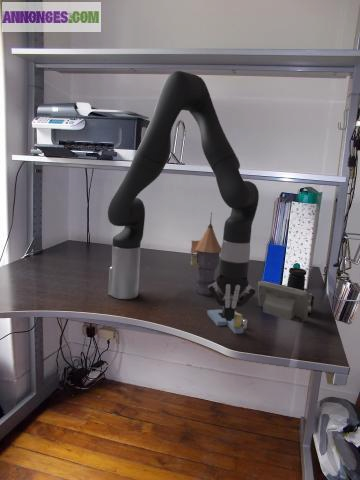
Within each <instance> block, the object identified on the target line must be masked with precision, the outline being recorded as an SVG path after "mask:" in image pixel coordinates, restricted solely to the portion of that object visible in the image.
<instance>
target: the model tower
mask: <svg viewBox="0 0 360 480" xmlns="http://www.w3.org/2000/svg"><path fill="white" fill-rule="evenodd" d="M212 214H213V212H211V213H210V220H209V221H210V223H209V225H207V228H206V230H205V232H204V233H203V236H202V237H201V239H200V240H191V248H190V254H191V258H190V259H191V261H190V265H191V267H193V268H198V269H197V270H198V271H197V278H196V279H195V282H196V283H197V286H196V289H197V290H196V292H197V295H200V296H204V297H211V296H213V295H212V293H211V292H210V291H209V288H208V285H209V284H213V283H214V282H216V279H215V273H216V269H217V268H218V266H220V252H221V247H222V246H221V245H220V243H219V241H218V239H217V237H216V233H215V232H214V231H215V230H214V227H213V224H212V216H213V215H212ZM194 254H196V255H194Z"/></svg>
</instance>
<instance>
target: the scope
mask: <svg viewBox="0 0 360 480" xmlns="http://www.w3.org/2000/svg"><path fill="white" fill-rule="evenodd" d="M288 273H289V274H288V279H287V284H286V286H287V287H291V288H295V289H299V290H303V291H305V286H306V285H305V284H306V275H307V270H305V269H304V268H300V267H289V269H288ZM314 299H315V296H314V295H313V293H309V292H308V318H309V317H311V316H312V312H313V306H314V304H315V301H314Z"/></svg>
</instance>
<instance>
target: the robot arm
mask: <svg viewBox="0 0 360 480" xmlns="http://www.w3.org/2000/svg"><path fill="white" fill-rule="evenodd" d="M213 103H214V102H213V100H212V97H211V94H210V92H209V88H208V87H207V84H206V82H205V81H204V79H203V78H202V77H201V76H198V75H197V74H193V73H190V72H185V71H181V70H175V71H173V72H171V73H170V74H169V75H168V76H167V78H166V79H165V81H164V83H163V85H162V88H161V90H160V93H159V96H158V99H157V102H156V105H155V107H154V111H153V114H152V116H151V119H150V121H149V123H148V126H147V128H146V130H145V133H144V136H143V138H142V140H141V142H140V144H139V146H138V148H137V150H136V152H135V154H134V157H133V159H132V161H131V163H130V166H129V168H128V170H127V172H126V174H125V176H124V178H123V180H122V182H121V184H120V185H119V187H118V188H117V190H116V192H115V194H114V195H113V197H112V198H111V200H110V202H109V204H108V207H107V208H108V209H107V219H108V221H109V223H110V224H112V225H113V226H116V227H124V228H123V229H122V231H120V232H119V233H117V234H116V235H115V236H113V238H112V248H111V249H112V250H111V266H110V267H109V268H108V290H107V291H108V293H107V294H108V295H109V296H111V297H113V298H115V299H118V300H119V299H120V300H132V299H135V298H137V297H138V295H139V286H140V284H139V283H140V261H141V259H140V258H141V243H142V240H143V237H144V232H145V231H144V230H145V219H146V218H145V217H146V210H145V209H146V208H145V205H144V202H143V201H142V199H140V198H139V197H138V196H139V194H140V193H142V191H144V190H145V189H146V188H147V187H148V186H150V185H151V184H152V183H153V182H155V180H157V178H158V177H160V175H161V173H162V172H163V171H164V169H165V167H166V165H167V162H168V160H169V158H170V156H171V151H172V149H171V148H172V147H171V146H172V143H171V142H172V141H171V140H172V139H171V138H172V137H171V136H172V135H171V134H172V130H173V127H174V124H175V122H176V121H177V119H178V116H179V115H180V113H181V112H182V111H186V112H187V111H188V112H189V113H190V115H191V116H192V117H193V119H194V120H195V121H196V123H197V126H198V127H199V132H200V138H201V139H200V141H201V147H202V151H203V154H204V156H205V157H204V158H205V159H206V161H207V163H208V164H209V167H210V168H211V171H212V172H213V174H214V175H215V176H214V177H215V179H216V184H217V187H218V191H219V194H220V196H221V199H222V200H223V201H224V203H225V204H226V205H227V206H228V207H229V208H230V209H231V211H230V216H229V217H228V218H226V220H225V222H224V225H223V233H222V234H223V237H222V244H221V246H220V247H221V252H220V256H219V265H218V266H219V269H218V276H217V278H216V279H215V281H216V282H214V283H213V284H209V285H208V288H209V291H210V292H211V293H212V295H211V296H212V297H214V299H215V301H216V303H217V304H218V305H219V306H222V307H223V306H224V312H223V316H224V319H226V321H232V319H234V315H235V311H236V308H238V307H240V308H242V307H243V306H244V305H245V304H246V303H247V302H248V301H249V300H250V299H252V297H253V296H254V295H255V294H256V289H255V288H254V287H253V286H251V285H250V283H249V280H248V276H249V275H248V274H249V273H248V272H249V264H250V257H251V240H252V239H251V238H252V237H251V236H252V226H253V222H254V219H255V216H256V214H257V213H256V212H257V209H258V204H259V199H260V197H259V196H260V195H259V189H258V187H257V185H256V184H255V183H253V182H252V181H249V180H244V179H243V176H242V175H241V173H240V168H241V163H240V160H239V158H238V156H237V155H236V153H235V151H234V149H233V147H232V146H231V143H230V141H229V140H228V138H227V135H226V134H225V132H224V130H223V128H222V125H221V122H220V120H219V117H218V115H217V114H218V113H217V111H216V109H215V106H214V104H213ZM218 288H219V289H220V291H221V292H222V294H223V297H224V300H223V298H222V297H221V295H220V294H219V292H218V290H219V289H218ZM242 293H243V294H242ZM241 294H242V295H241ZM240 295H241V296H240ZM239 296H240V297H239ZM230 297H231V302H230Z"/></svg>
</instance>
